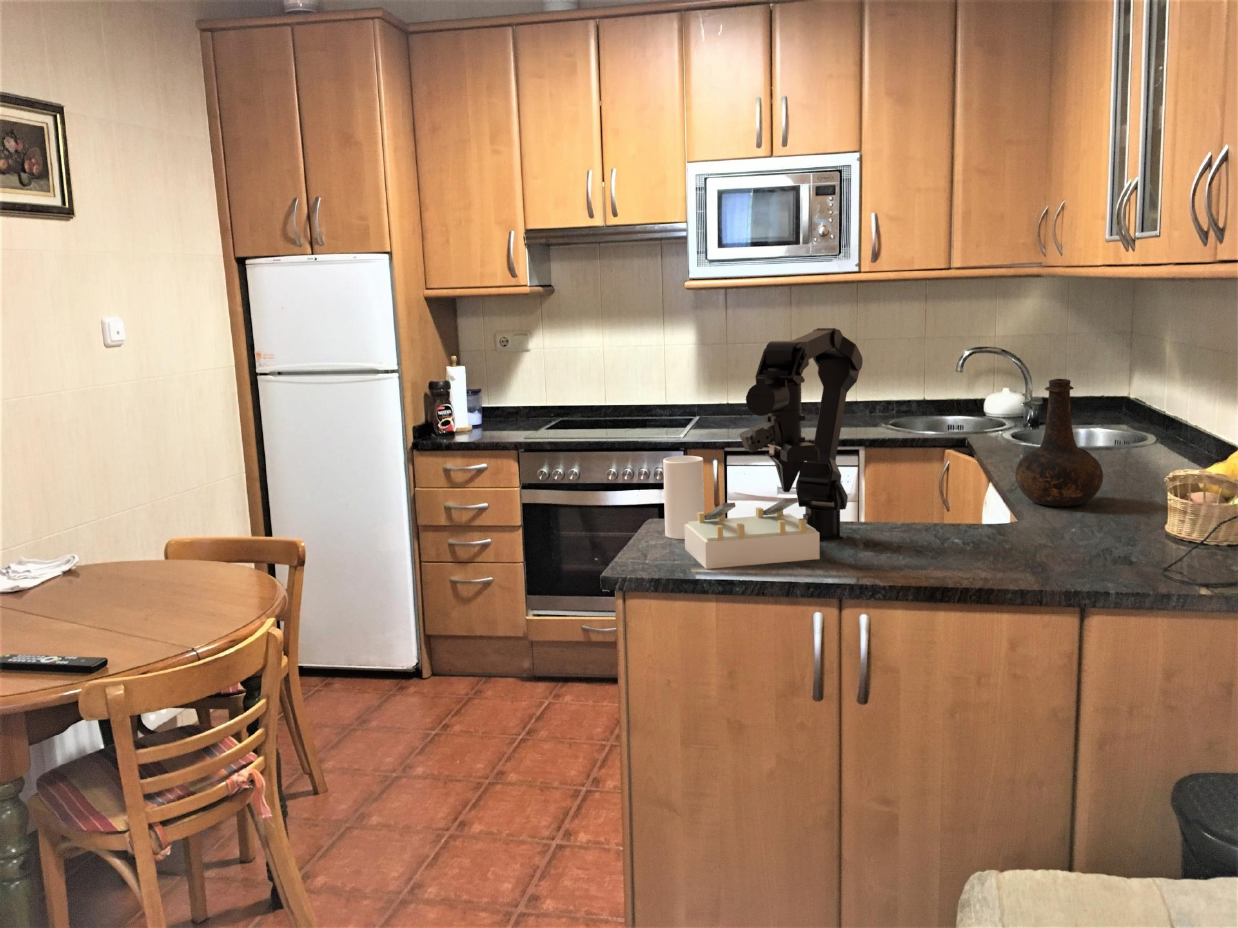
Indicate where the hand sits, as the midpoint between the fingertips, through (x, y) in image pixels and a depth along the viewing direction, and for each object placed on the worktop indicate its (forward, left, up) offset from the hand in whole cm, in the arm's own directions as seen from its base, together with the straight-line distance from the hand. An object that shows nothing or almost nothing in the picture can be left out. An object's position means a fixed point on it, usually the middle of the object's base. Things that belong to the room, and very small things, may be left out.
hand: (786, 491), depth 191 cm
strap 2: (0, -4, -4) cm, 5 cm away
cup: (+14, -22, -13) cm, 29 cm away
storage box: (+6, -3, -12) cm, 14 cm away
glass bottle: (-73, -23, -13) cm, 78 cm away
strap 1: (+12, -4, -4) cm, 13 cm away
